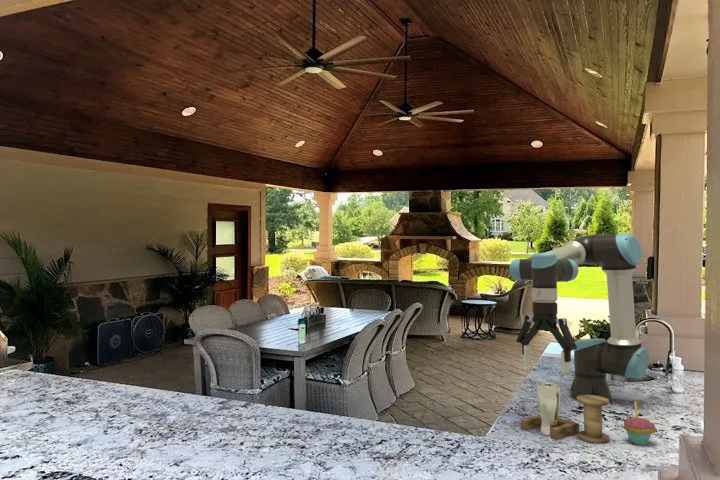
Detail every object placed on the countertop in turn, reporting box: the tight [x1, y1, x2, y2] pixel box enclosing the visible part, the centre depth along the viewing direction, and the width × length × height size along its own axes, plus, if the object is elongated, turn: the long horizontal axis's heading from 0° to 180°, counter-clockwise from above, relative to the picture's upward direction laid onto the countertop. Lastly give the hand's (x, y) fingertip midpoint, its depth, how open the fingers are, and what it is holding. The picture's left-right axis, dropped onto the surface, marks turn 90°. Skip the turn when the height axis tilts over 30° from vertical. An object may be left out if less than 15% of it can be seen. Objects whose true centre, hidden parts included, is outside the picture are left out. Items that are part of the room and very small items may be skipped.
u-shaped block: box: [520, 414, 580, 441], centre depth 169 cm, size 12×13×3 cm
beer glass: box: [536, 382, 562, 437], centre depth 168 cm, size 7×7×15 cm
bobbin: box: [576, 395, 611, 445], centre depth 163 cm, size 9×9×12 cm
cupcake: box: [622, 400, 656, 446], centre depth 160 cm, size 9×8×12 cm
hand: (545, 368), depth 169 cm, fingers open, 13 cm apart
